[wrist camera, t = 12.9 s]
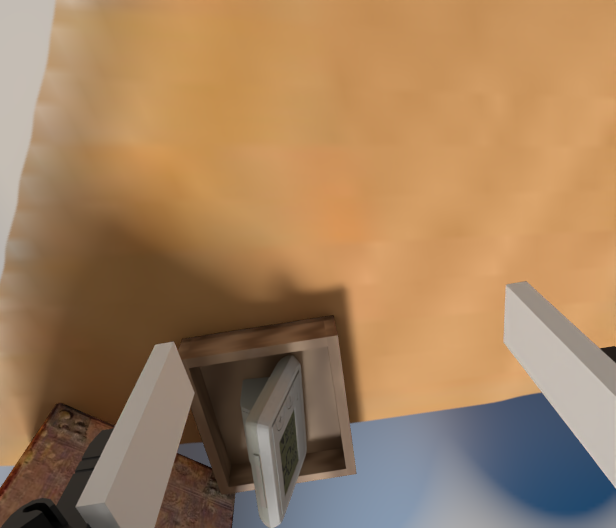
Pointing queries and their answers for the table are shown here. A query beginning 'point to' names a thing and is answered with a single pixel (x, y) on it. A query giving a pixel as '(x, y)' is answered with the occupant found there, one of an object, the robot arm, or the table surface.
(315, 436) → the brown rectangular tray
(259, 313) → the table surface
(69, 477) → the book
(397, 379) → the table surface
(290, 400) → the digital clock
